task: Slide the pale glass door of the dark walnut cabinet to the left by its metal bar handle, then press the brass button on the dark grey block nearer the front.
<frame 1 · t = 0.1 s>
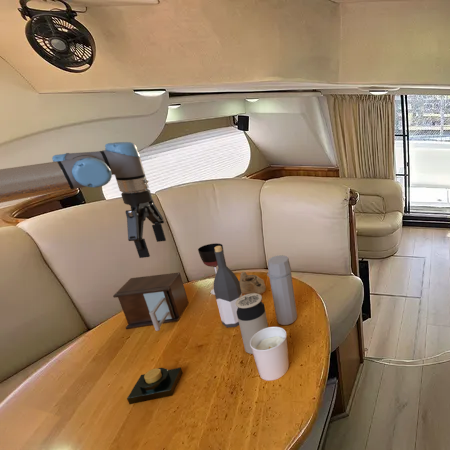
hand: (153, 248, 111), 26 cm above the table, tool pointing down, fingers open, 13 cm apart
glass door: (153, 313, 107), point 7 cm above the table, slide at 0.0 cm
travel mug: (258, 346, 103), on the table
water bottle: (285, 319, 116), on the table
wine bottle: (235, 321, 115), on the table
button block: (157, 387, 87), on the table
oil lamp: (253, 292, 132), on the table
candle holder: (274, 370, 94), on the table
cabinet: (160, 313, 118), on the table
wineglass: (220, 290, 134), on the table
button: (153, 375, 86), point 4 cm above the table, slide at 0.1 cm
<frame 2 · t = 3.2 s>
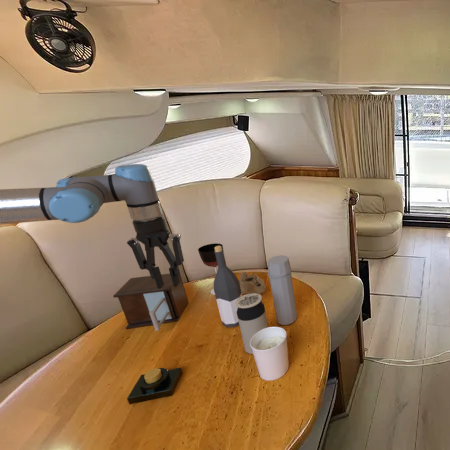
hand: (169, 285, 101), 20 cm above the table, tool pointing down, fingers open, 4 cm apart
nothing on the table moved.
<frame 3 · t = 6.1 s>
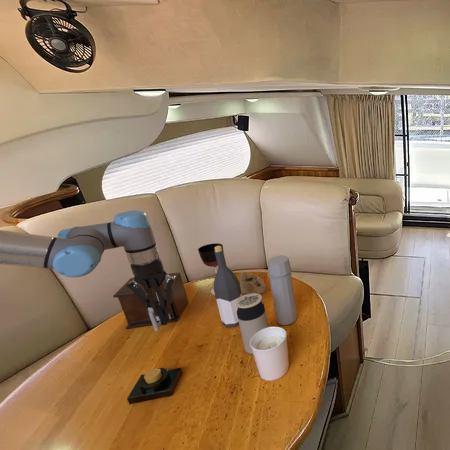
hand: (165, 322, 105), 6 cm above the table, tool pointing down, fingers closed
glass door: (153, 314, 107), point 7 cm above the table, slide at 0.2 cm, touching gripper
everything else where it was.
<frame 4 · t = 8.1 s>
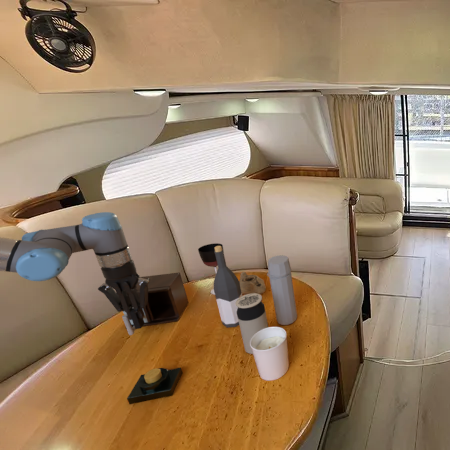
hand: (140, 326, 103), 6 cm above the table, tool pointing down, fingers closed
glass door: (127, 317, 105), point 7 cm above the table, slide at 7.5 cm, touching gripper
everything else where it was.
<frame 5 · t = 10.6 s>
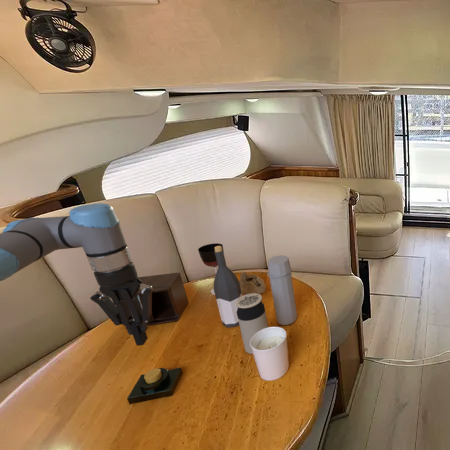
hand: (142, 341, 85), 14 cm above the table, tool pointing down, fingers closed
glass door: (127, 317, 105), point 7 cm above the table, slide at 7.5 cm
everything else where it was.
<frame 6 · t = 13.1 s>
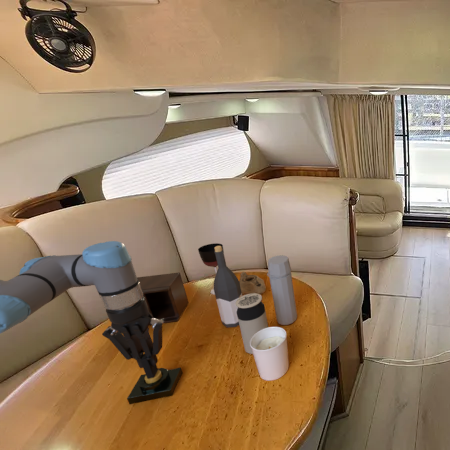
hand: (152, 374, 86), 5 cm above the table, tool pointing down, fingers closed
button: (153, 377, 86), point 4 cm above the table, slide at -0.4 cm, touching gripper
everything else where it was.
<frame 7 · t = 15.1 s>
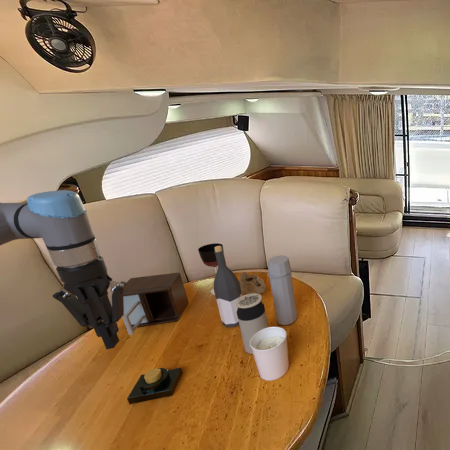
hand: (113, 344, 78), 18 cm above the table, tool pointing down, fingers closed
button: (153, 375, 86), point 4 cm above the table, slide at 0.1 cm
everything else where it was.
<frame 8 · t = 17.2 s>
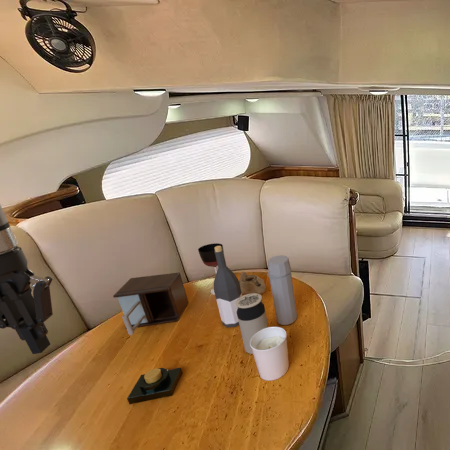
hand: (41, 349, 68), 24 cm above the table, tool pointing down, fingers closed
nothing on the table moved.
at the end: glass door slide at 7.5 cm; button pushed in 1.0 cm at the most during the clip, back to where it started at the end; button slide at 0.1 cm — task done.
